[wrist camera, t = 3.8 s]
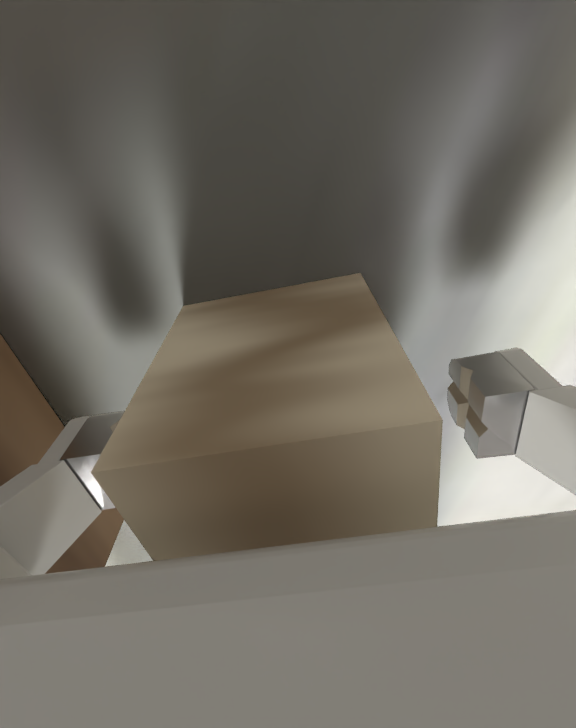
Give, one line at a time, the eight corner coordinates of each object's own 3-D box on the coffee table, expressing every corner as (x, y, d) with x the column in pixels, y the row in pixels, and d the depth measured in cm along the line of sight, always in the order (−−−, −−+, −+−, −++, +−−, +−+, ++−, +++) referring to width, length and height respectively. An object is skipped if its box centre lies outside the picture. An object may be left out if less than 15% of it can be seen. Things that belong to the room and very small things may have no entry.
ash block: (359, 272, 10) (442, 419, 5) (371, 411, 13) (433, 600, 8) (183, 305, 10) (91, 472, 5) (231, 433, 13) (199, 625, 8)
